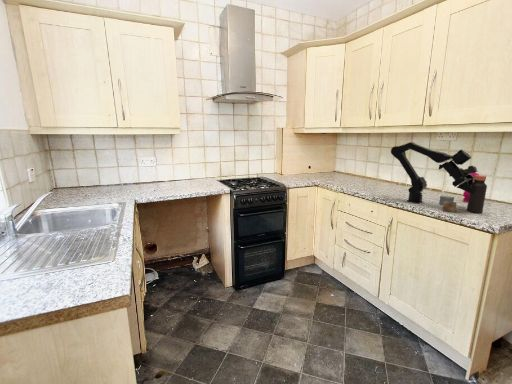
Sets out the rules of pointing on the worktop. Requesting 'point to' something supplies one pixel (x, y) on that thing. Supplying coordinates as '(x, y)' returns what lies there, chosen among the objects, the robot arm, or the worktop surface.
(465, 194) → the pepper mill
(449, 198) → the slate cube
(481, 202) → the vinegar
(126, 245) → the worktop surface
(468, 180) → the robot arm
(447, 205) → the walnut cube
